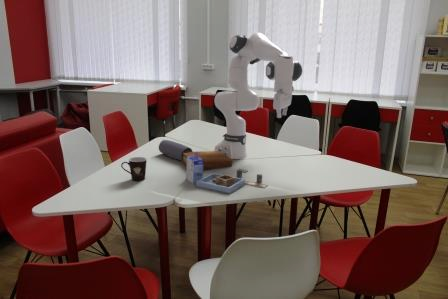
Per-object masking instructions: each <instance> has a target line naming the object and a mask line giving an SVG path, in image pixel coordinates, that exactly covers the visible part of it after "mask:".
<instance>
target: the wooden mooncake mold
mask: <svg viewBox="0 0 448 299" xmlns="http://www.w3.org/2000/svg"><path fill="white" fill-rule="evenodd" d="M221 175H222V176H218V177H216V178H215V179H213V182H215V183H216V185H220V186H225V187H230V186H232V185H233V184H235V181H236V178H237V177H236V178H235V176H232V175H229V174H221Z"/></svg>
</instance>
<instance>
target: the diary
mask: <svg viewBox="0 0 448 299" xmlns="http://www.w3.org/2000/svg"><path fill="white" fill-rule="evenodd" d="M196 152H197V153H198V154H199V156H198V155H197V154H196ZM182 154H183V160H181V161H180V162H181V163H182V164H183V165H184V166H186V167H187V156H194V155H195V154H196V156H198V157H199V158H201V159H202V160H203V171H207V170H215V169H224V168H230V167H231V168H232V166H233V159H231V158H230V157H228V156H226V155H225V154H223V153H221V152H219V151H214V150H212V151H211V150H206V151H201V150H200V151H193V152H183V153H182Z"/></svg>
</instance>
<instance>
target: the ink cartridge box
mask: <svg viewBox="0 0 448 299" xmlns="http://www.w3.org/2000/svg"><path fill="white" fill-rule="evenodd" d="M195 152H196V154H197V155H198V156H199V154H198V153H197V152H198V151H195ZM196 154H195V155H194V156H187V166H186V180H187V181H188V182H189V183H190V184H192V185H194V186H195V185H196V181H197V180H199V179H202V178H204V170H203V160H202V159H201V158H199V157H198V156H196Z"/></svg>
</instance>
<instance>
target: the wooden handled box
mask: <svg viewBox="0 0 448 299" xmlns="http://www.w3.org/2000/svg"><path fill="white" fill-rule="evenodd" d="M243 173H244V174H247V173H249V171H248V170H246V169H241V168H239V169H237V170H236V178H241V179H243ZM262 182H263V174H260V173H258V174H256V182H252V181H247V180H245V185H248V186H252V187H257V188H262V189H265V188H268V186H269V185H267V184H262Z"/></svg>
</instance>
